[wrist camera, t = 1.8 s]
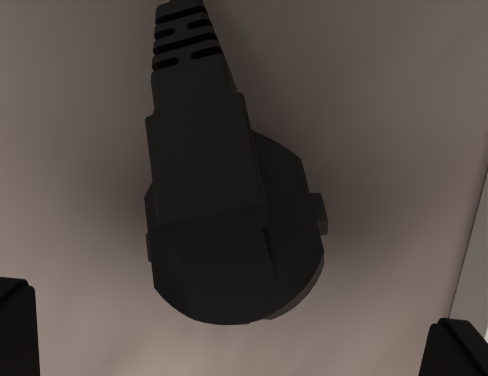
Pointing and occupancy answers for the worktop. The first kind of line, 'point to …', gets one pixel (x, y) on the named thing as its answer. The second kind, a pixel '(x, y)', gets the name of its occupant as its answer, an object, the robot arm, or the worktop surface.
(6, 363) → the robot arm
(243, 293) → the power plug
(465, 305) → the tray
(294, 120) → the worktop surface
